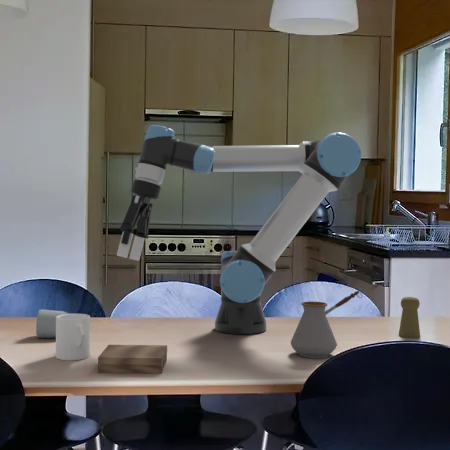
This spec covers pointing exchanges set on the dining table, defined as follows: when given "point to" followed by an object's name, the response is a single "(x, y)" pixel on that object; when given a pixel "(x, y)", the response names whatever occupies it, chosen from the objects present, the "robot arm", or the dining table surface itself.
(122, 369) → the dock
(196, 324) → the dining table surface
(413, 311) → the cork
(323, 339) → the coffee pot
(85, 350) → the mug
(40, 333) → the ceramic mug
